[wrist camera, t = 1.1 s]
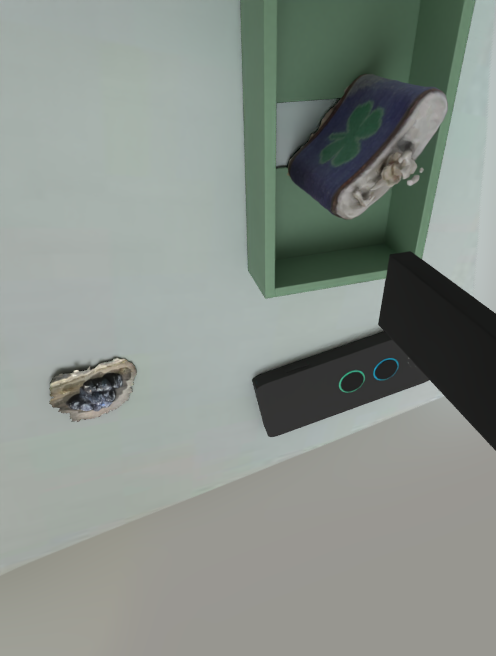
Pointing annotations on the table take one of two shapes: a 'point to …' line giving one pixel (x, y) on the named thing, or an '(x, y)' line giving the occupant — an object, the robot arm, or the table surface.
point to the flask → (367, 143)
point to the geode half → (93, 389)
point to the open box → (329, 83)
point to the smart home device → (333, 383)
